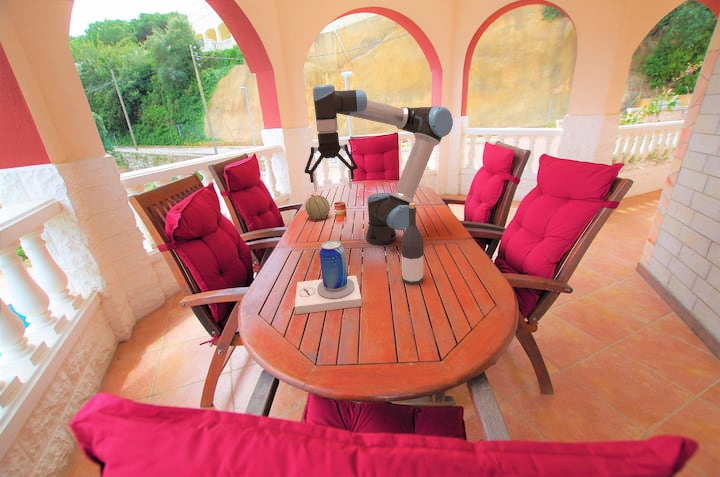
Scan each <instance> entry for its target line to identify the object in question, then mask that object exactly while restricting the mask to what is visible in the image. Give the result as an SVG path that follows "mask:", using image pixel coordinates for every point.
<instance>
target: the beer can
mask: <svg viewBox="0 0 720 477" xmlns="http://www.w3.org/2000/svg"><path fill="white" fill-rule="evenodd" d="M318 251H319V260H320V268H321V275H322V278H321V279H323V285H324V287H326V289H327V290H329V291H339V290H342V289H343V288H344V287H345V285H346V284H347V276H348V275H347V273H348V272H347V263H346V252H345V248H344V246H343V245H342V243H341V241H339V240H327V241H325V242H322V244H321V246H320V249H319V250H318Z"/></svg>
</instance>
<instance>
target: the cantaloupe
mask: <svg viewBox="0 0 720 477" xmlns="http://www.w3.org/2000/svg"><path fill="white" fill-rule="evenodd" d="M310 196H311V197H309V198H308V199H307V200H306V202H305V211H306V214H307V215H308V216H309V217H310V218H311V219H314V220H322V219H324V218H326V217H328V215H329V213H330V211H331V205H330V203H329V201H328V199H327V198H326V197H325V196H323V195H320V194H319V195H318V194H316V195H314V194H311V195H310Z"/></svg>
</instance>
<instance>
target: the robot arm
mask: <svg viewBox="0 0 720 477" xmlns="http://www.w3.org/2000/svg"><path fill="white" fill-rule="evenodd" d="M312 88H313V90H312V93H313V94H312V95H313V106H314V112H315V124H316V132H318V133H317V140H318V142H317V144H318V146H317V147H315V146H310V155H309V157H308V159H307V163H306V166H305V168H304V174H308V175H309V182H310V183H313V188H314V192H317V191H318V189H317V181H316V173H315V171H316V170H317V169H318V167H319V165H320V163H321V162H322V161H323V159H327V160H328V159H335V158H336V157H337V159H339V160H340V161H341V162H342V163H343V164H344V166H346V168H348V170H347V174H348V175H347V176H348V187H349V189H352V188H353V186H352V180H354V179H355V173H354V171H355V170H358V168H359V166H358V164H357V163H356V161H355V159H354V158H353V155H352V154H351V152H350V150H349V145H348V144H347V143H345V144H341V145H340V137H339V132H338V131H339V127H338V117H337V116H338V115H339V114H340V115H343V116H349V117H353V118H357V119H362V120H366V121H373V122H376V123H380V124H386V125H390V126H393V127H394V126H395V127H396V129H398V130H401V131H405V132H408V133H412V134H413V136H414V138H415V140H414V143H413V144H412V148H411V150H410V152H409V156H408V158H407V160H406V163H405V165H404V167H403V169H402V173H401V175H400V178H399V181H398V183H397V185H396V188H395V190H394V191H393V192H392V193H390V192H380V193H373V194H370V195H369V196H368V197H367V212H368V228H367V232H366V235H365V237H366V239H365V241H366V242H367V243H369V244H371V245H376V246H384V245H385V246H386V245H390V244H392V243H395V242H396V241H397V239H398V238H397V236H398V235H397V232H396V230H397V231H403V230H406V228H407V227H408V225H409V204H410V203H415V201H414V197H415V194H416V193H417V189H418V187H419V185H420V183H421V181H422V178H423V175H424V173H425V171H426V168H427V165H428V163H429V160H430V158H431V156H432V153H433V150H434V149H435V147H436V146H438V145H440V143H441V141H442V139H443V138H444V137H446V136H447V135H450V133H451V131H452V129H453V124H454V120H453V117H452V116H453V115H452V113H451V111H450V110H449V109H448V107H445V106H439V105H436V106H435V105H434V106H421V107H407V106H400V107H397V106H393V105H388V104H384V103H381V102H376V101H372V100H369V99H368V97H367V94H366V92H365V91H364V90H362V89H349V90H335V86H334V85H333V84H319V85H314V87H312ZM337 114H338V115H337ZM341 150H342V151H344V152H345V154H346V155H347V157H348V158H349V160H350V162H351V163H352V165H351V164H350V163H349V162H348V161H347V160H346V159H345V158H344V157H343V156H342V155H341V154H340V151H341ZM317 151H318V152H319V153H320V155H319V157H318V158H317V160H316V161H315V163H314V164H313V166H312V167H311V165H312V161H313V158H314V155H315V154H316V153H317ZM310 167H311V168H310Z"/></svg>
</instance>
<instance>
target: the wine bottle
mask: <svg viewBox="0 0 720 477" xmlns="http://www.w3.org/2000/svg"><path fill="white" fill-rule="evenodd" d="M400 243H401V244H400V249H401V253H400V254H401V255H400V256H401V262H400V263H401V280H402V282H403V283H404V284H407V285H409V286H412V285H413V286H414V285H420V284H421V283H422V282H423V281H424V251H425V250H424V246H425V245H424V244H425V243H424V240H423V236H422V233H421V231H420V230H419V227H418V226H417V207H416V203H415V202H414V203H410V204H409V225H408V227H407V228H405V229H404V232H403V234H402V237H401V242H400Z"/></svg>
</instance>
